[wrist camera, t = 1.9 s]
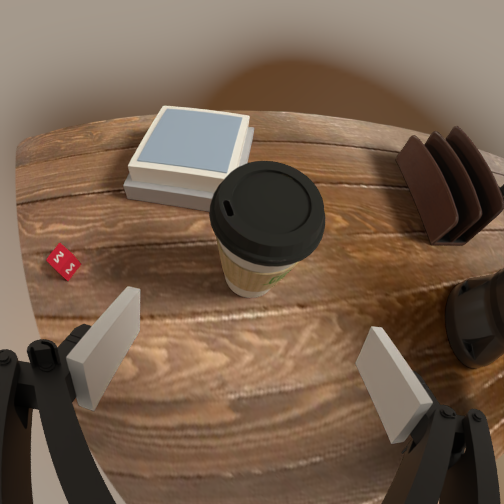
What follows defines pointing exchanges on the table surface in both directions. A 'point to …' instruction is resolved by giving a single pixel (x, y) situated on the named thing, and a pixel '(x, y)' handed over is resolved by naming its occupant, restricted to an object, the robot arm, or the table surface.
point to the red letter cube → (63, 261)
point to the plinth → (188, 156)
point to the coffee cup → (265, 224)
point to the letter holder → (450, 186)
